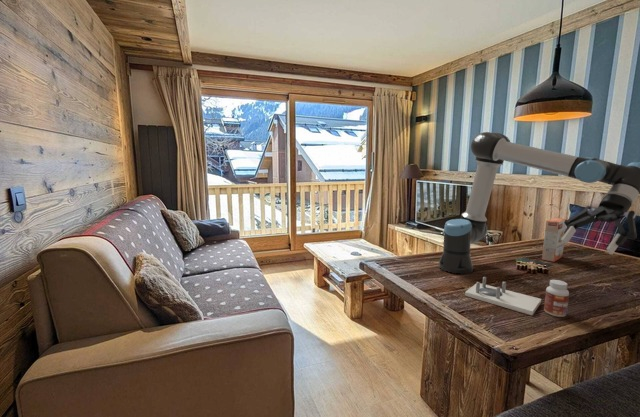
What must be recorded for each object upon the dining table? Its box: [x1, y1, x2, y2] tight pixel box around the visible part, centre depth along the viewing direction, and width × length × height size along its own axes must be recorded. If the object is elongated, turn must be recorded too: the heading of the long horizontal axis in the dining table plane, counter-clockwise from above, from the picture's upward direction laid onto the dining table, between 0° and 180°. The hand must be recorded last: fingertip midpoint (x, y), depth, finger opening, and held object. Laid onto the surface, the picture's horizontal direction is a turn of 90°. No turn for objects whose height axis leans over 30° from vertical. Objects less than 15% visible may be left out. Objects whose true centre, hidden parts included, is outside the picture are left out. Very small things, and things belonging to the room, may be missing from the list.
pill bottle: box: [543, 279, 570, 318], centre depth 104 cm, size 6×6×11 cm
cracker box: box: [541, 217, 568, 263], centre depth 159 cm, size 14×6×21 cm, turn 128°
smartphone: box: [515, 257, 555, 269], centre depth 154 cm, size 8×1×15 cm
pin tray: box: [464, 276, 542, 316], centre depth 115 cm, size 22×13×6 cm, turn 44°
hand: (584, 246), depth 104 cm, fingers open, 13 cm apart
